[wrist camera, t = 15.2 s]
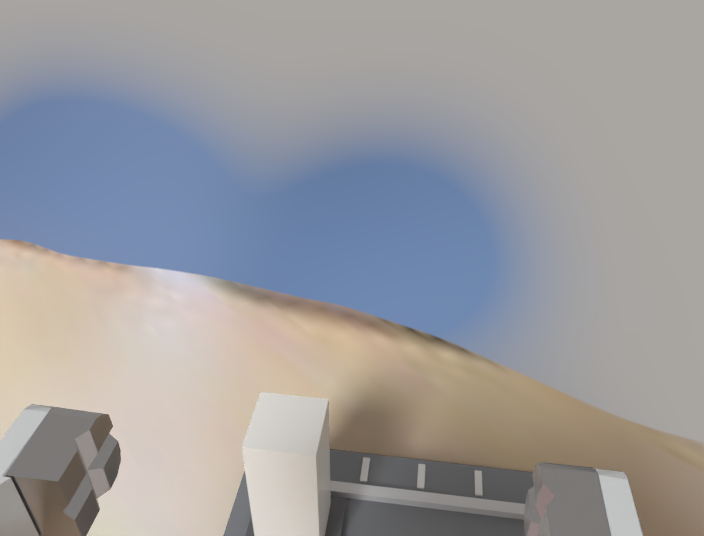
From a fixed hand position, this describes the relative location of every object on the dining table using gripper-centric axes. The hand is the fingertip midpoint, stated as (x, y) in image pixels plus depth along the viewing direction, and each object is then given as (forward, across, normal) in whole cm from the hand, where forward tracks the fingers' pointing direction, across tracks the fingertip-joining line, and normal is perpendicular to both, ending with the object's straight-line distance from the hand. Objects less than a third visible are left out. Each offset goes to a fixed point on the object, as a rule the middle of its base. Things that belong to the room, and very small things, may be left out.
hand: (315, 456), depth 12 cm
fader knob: (+15, +5, +28) cm, 32 cm away
